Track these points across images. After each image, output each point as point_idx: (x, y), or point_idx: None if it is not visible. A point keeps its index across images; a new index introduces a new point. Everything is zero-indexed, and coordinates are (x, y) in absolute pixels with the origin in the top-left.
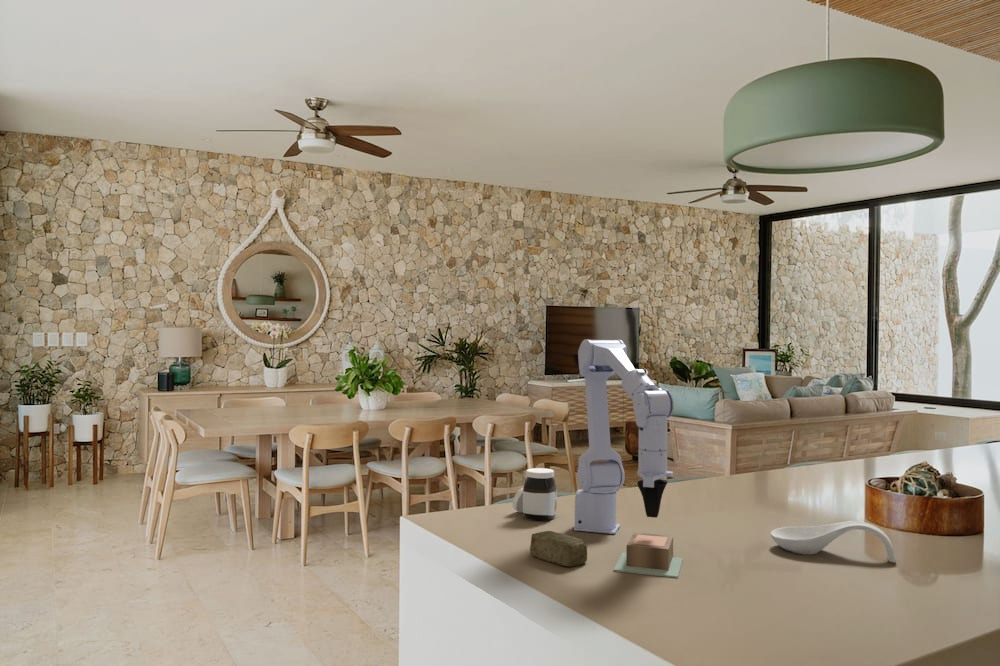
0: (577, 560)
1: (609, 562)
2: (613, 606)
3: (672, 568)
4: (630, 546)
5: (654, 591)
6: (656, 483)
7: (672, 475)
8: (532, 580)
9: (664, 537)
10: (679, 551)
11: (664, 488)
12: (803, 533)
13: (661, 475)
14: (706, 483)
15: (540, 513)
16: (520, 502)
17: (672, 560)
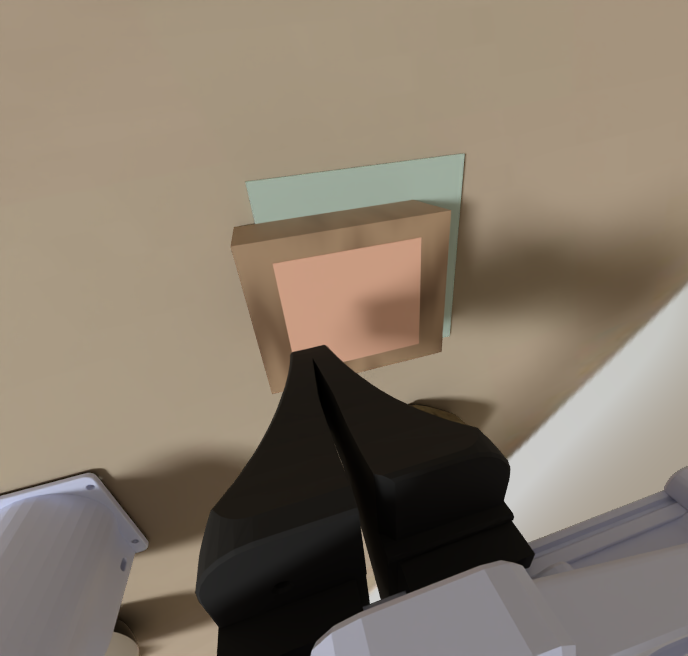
0: (443, 414)
1: (381, 367)
2: (655, 252)
3: (389, 191)
4: (441, 339)
5: (574, 194)
6: (481, 529)
7: (493, 578)
8: (529, 421)
9: (285, 274)
10: (129, 222)
11: (251, 471)
12: None
13: (683, 606)
14: None
15: (124, 640)
16: None
17: (297, 214)
